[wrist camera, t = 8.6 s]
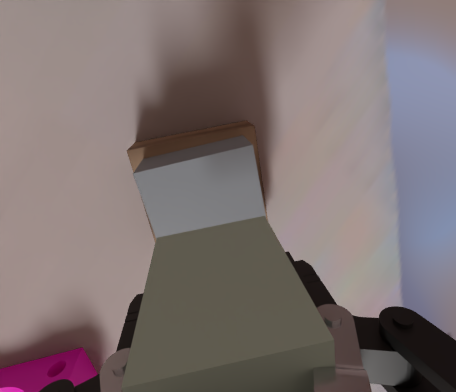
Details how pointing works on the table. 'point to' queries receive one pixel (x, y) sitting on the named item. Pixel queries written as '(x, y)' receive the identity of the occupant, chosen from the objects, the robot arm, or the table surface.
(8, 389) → the toy block
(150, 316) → the sage block
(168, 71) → the table surface
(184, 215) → the block
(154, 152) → the block
